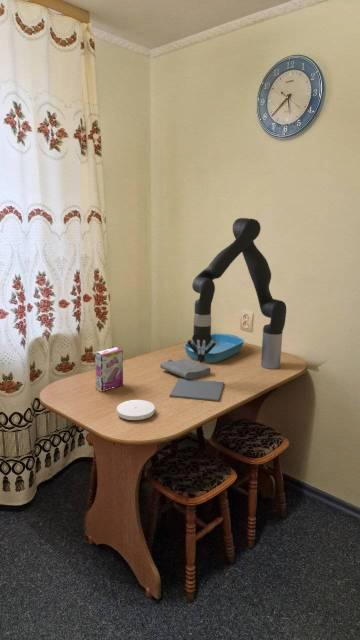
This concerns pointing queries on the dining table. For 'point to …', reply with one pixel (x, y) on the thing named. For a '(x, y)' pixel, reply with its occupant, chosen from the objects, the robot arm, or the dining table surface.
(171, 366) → the hip flask
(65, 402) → the dining table surface
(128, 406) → the plastic lid
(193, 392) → the mat
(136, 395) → the dining table surface
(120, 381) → the candy bar box
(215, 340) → the casserole dish
